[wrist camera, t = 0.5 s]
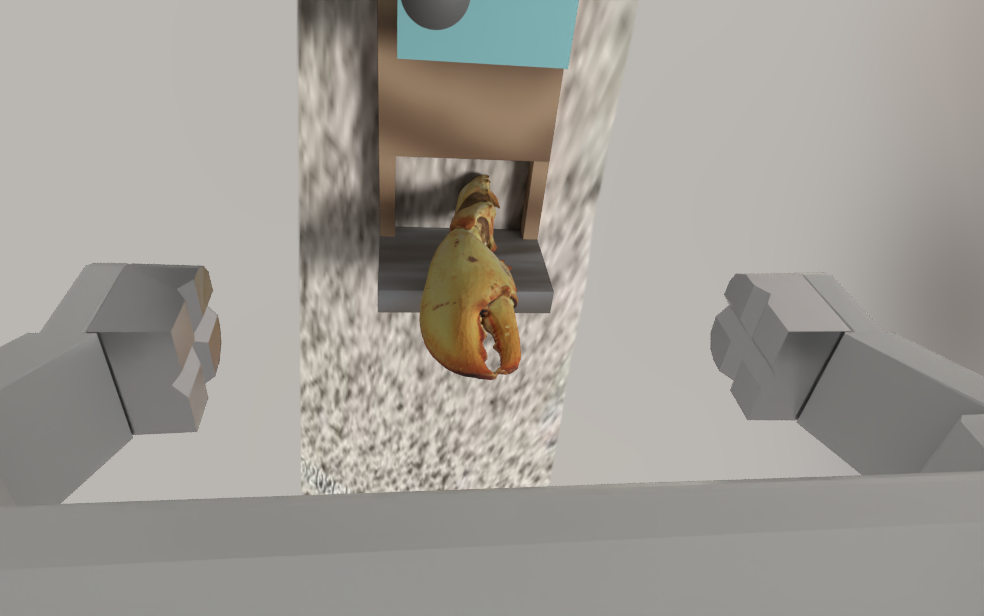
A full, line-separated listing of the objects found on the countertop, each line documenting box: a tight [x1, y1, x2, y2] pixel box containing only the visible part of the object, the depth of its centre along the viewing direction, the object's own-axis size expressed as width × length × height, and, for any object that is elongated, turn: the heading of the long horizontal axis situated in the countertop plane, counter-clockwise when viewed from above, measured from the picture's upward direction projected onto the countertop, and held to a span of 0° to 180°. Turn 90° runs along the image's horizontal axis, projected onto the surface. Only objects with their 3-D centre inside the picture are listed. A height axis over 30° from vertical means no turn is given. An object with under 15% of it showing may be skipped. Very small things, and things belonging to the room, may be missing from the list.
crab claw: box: [420, 174, 521, 380], centre depth 46 cm, size 7×5×20 cm
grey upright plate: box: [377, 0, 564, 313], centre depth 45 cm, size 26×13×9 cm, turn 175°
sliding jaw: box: [397, 0, 579, 69], centre depth 37 cm, size 7×10×14 cm
